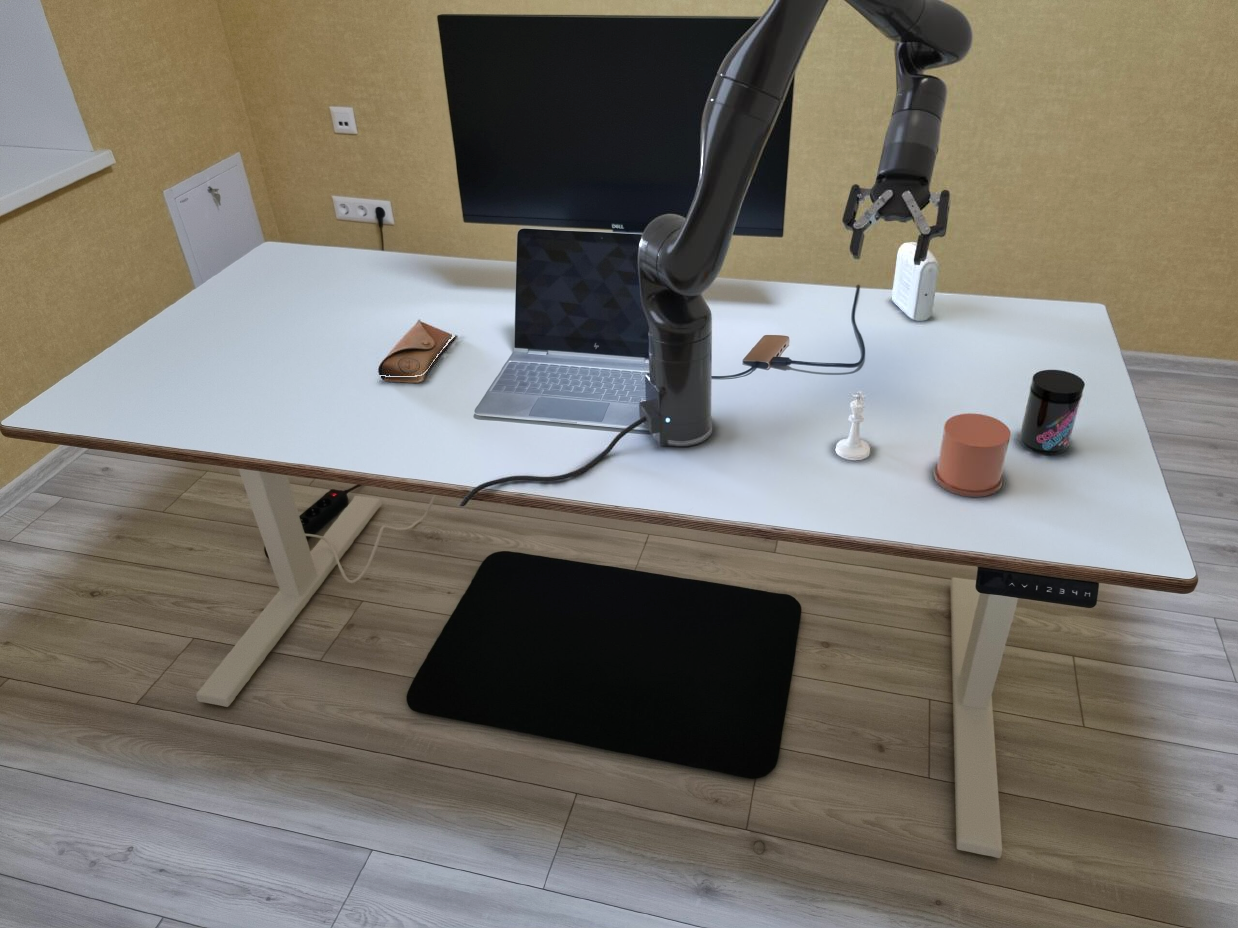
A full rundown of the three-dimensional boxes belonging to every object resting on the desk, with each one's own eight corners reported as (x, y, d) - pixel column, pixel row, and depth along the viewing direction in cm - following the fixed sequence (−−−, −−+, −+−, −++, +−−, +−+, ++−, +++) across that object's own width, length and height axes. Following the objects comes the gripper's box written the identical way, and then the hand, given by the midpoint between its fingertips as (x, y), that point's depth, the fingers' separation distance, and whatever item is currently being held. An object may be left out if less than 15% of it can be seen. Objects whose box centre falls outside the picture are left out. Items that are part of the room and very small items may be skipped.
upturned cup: (959, 503, 124) (969, 454, 120) (920, 468, 131) (928, 420, 127) (1016, 488, 126) (1027, 439, 122) (974, 454, 133) (984, 406, 129)
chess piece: (870, 461, 133) (877, 401, 127) (835, 459, 134) (841, 399, 128) (869, 442, 137) (876, 384, 131) (835, 440, 138) (841, 382, 132)
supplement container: (1022, 455, 133) (1036, 392, 127) (1014, 429, 138) (1028, 368, 132) (1072, 458, 131) (1089, 394, 125) (1063, 432, 137) (1079, 370, 131)
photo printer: (934, 319, 169) (944, 255, 162) (912, 323, 168) (921, 258, 161) (909, 297, 177) (917, 235, 170) (888, 300, 177) (895, 238, 170)
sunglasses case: (425, 381, 158) (400, 350, 156) (396, 397, 162) (371, 368, 159) (460, 334, 173) (437, 305, 170) (432, 350, 176) (410, 322, 173)
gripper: (855, 137, 132) (831, 247, 131) (960, 141, 126) (935, 256, 125) (863, 160, 139) (840, 264, 138) (962, 165, 133) (939, 274, 132)
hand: (886, 260), depth 131 cm, fingers open, 8 cm apart
